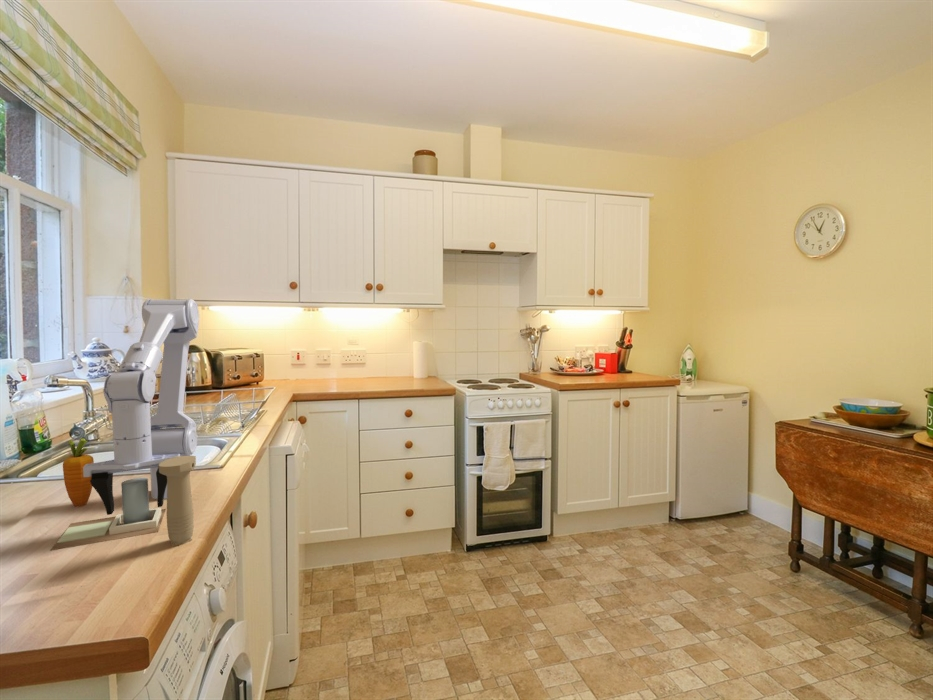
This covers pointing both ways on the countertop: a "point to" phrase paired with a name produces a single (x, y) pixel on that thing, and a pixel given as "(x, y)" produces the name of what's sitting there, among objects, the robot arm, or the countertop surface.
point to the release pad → (85, 531)
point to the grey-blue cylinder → (135, 500)
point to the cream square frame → (118, 528)
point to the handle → (179, 498)
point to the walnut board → (106, 536)
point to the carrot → (77, 474)
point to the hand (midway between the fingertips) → (136, 508)
